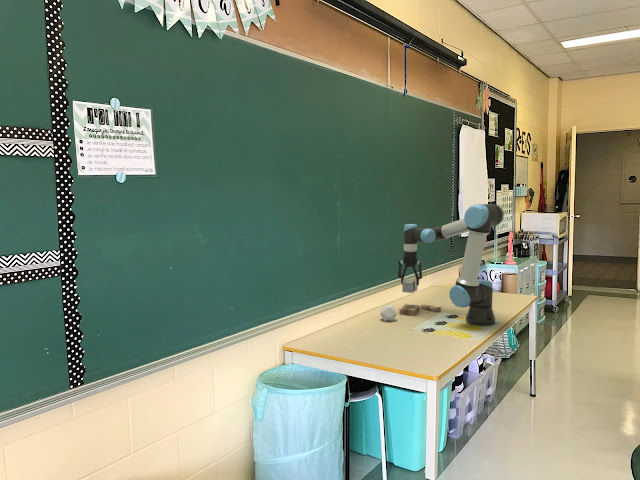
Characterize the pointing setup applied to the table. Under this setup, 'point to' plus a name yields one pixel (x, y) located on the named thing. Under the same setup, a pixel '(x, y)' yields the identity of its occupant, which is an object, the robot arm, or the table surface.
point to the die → (388, 313)
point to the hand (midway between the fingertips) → (410, 290)
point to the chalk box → (411, 304)
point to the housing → (409, 286)
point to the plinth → (410, 310)
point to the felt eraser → (431, 308)
